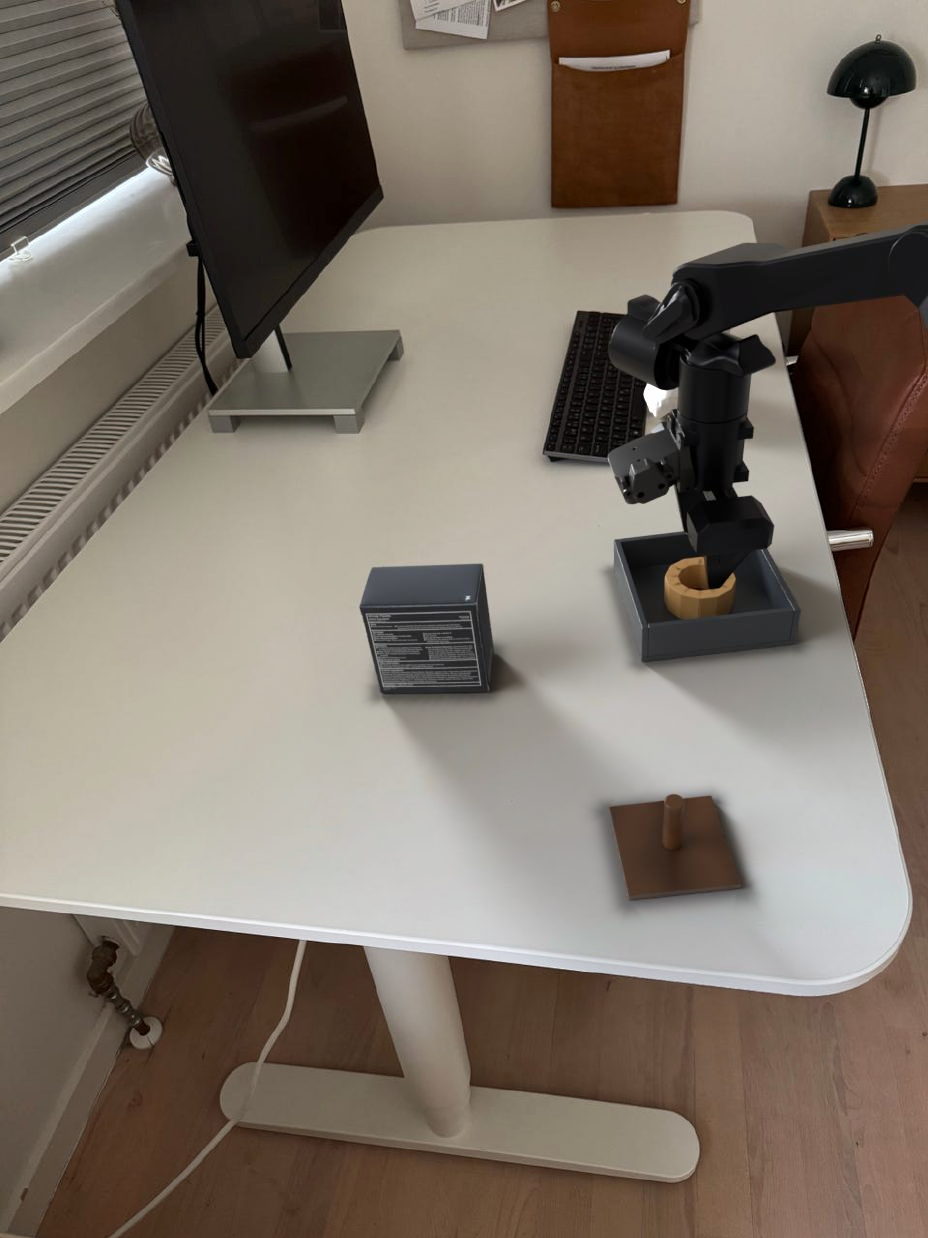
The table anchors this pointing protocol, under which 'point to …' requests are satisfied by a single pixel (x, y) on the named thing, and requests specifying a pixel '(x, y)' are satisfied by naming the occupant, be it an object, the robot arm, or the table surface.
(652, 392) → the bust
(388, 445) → the table surface
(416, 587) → the small box
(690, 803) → the wooden peg board
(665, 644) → the tray
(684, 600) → the tape
